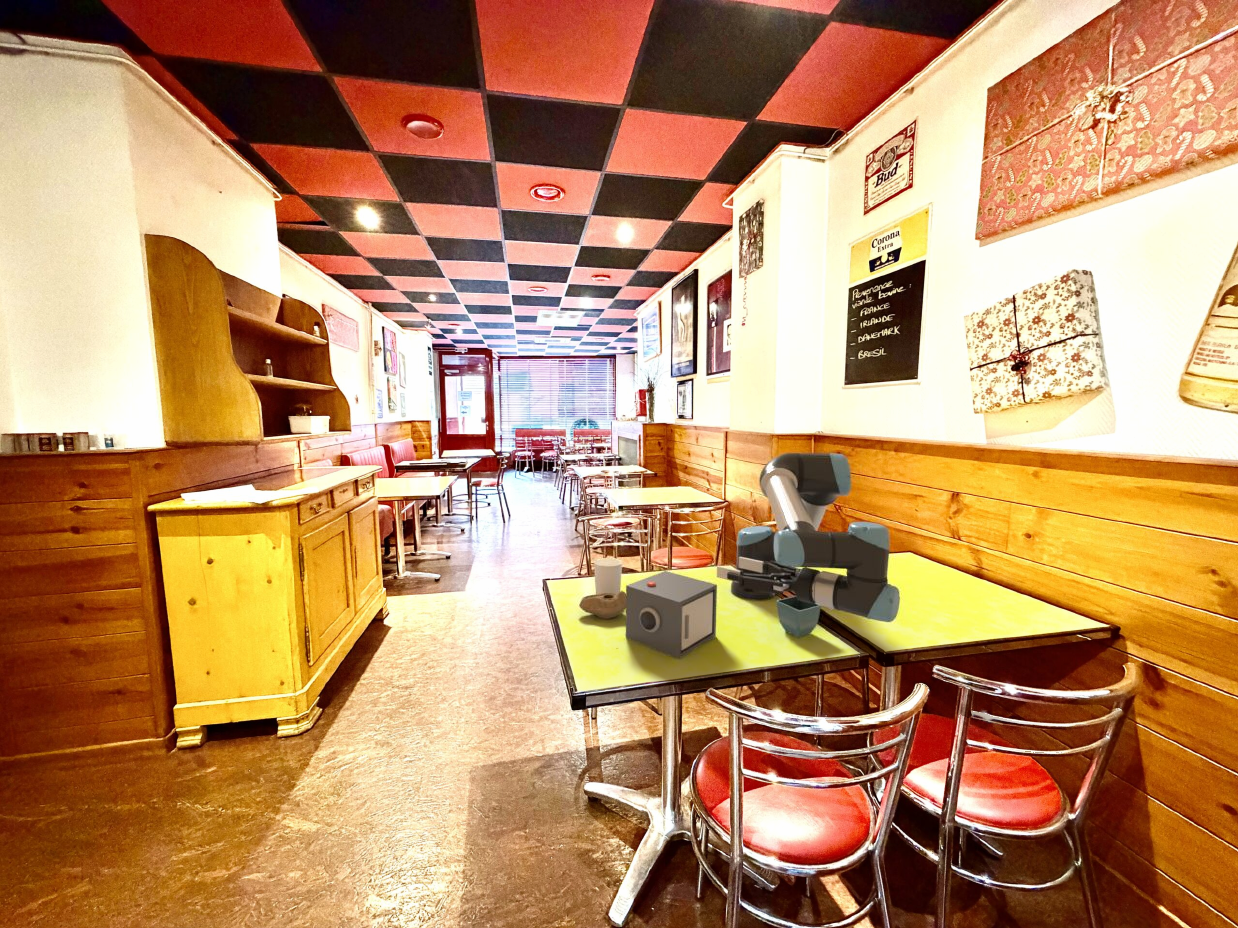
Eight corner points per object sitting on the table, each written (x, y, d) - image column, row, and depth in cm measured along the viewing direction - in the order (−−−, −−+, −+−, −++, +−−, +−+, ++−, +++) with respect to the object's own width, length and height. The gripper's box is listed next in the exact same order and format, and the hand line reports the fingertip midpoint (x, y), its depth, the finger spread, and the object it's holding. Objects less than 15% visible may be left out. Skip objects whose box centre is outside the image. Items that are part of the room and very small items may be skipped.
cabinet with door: (664, 618, 148) (665, 568, 147) (715, 636, 136) (716, 582, 135) (621, 639, 134) (622, 584, 132) (674, 661, 122) (675, 601, 120)
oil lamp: (577, 610, 154) (577, 586, 153) (623, 607, 157) (623, 583, 157) (582, 624, 144) (582, 598, 143) (631, 620, 147) (631, 595, 146)
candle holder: (618, 601, 162) (619, 566, 161) (590, 599, 164) (590, 565, 163) (624, 591, 171) (624, 558, 170) (597, 589, 173) (597, 557, 172)
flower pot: (798, 642, 133) (799, 610, 132) (774, 629, 141) (775, 600, 140) (820, 635, 137) (821, 605, 136) (796, 624, 145) (797, 595, 144)
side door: (710, 630, 136) (711, 590, 135) (714, 632, 135) (715, 592, 134) (679, 649, 125) (679, 605, 124) (683, 651, 124) (684, 607, 123)
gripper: (796, 619, 99) (704, 592, 114) (835, 590, 115) (749, 570, 130) (798, 583, 98) (704, 561, 113) (836, 560, 115) (750, 543, 130)
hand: (728, 566), depth 122 cm, fingers open, 10 cm apart
